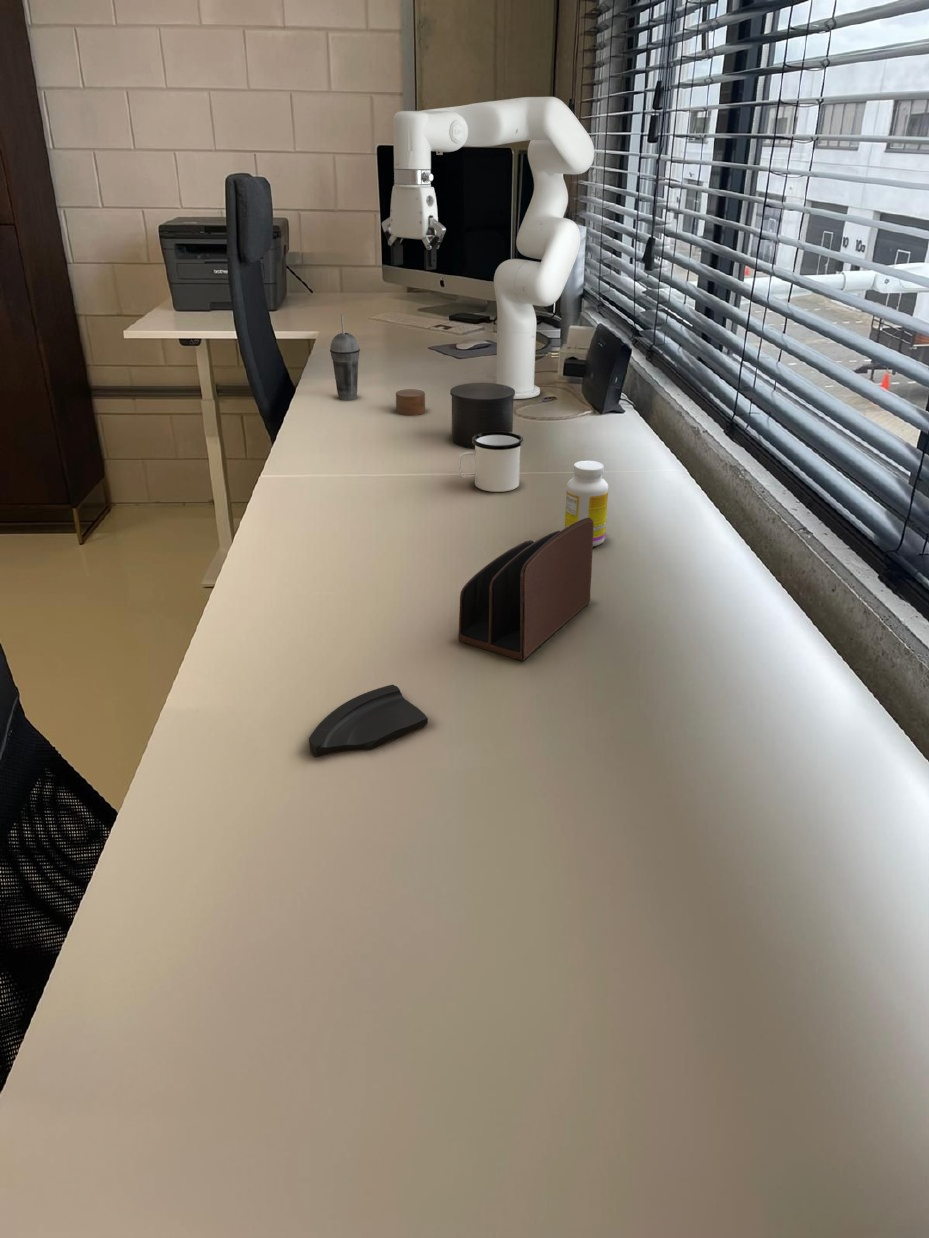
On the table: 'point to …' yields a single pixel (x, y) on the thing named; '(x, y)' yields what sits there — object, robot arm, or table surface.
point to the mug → (495, 461)
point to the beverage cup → (345, 364)
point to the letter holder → (528, 592)
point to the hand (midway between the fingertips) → (413, 267)
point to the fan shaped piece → (366, 722)
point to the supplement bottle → (588, 498)
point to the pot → (480, 411)
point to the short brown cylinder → (410, 402)
